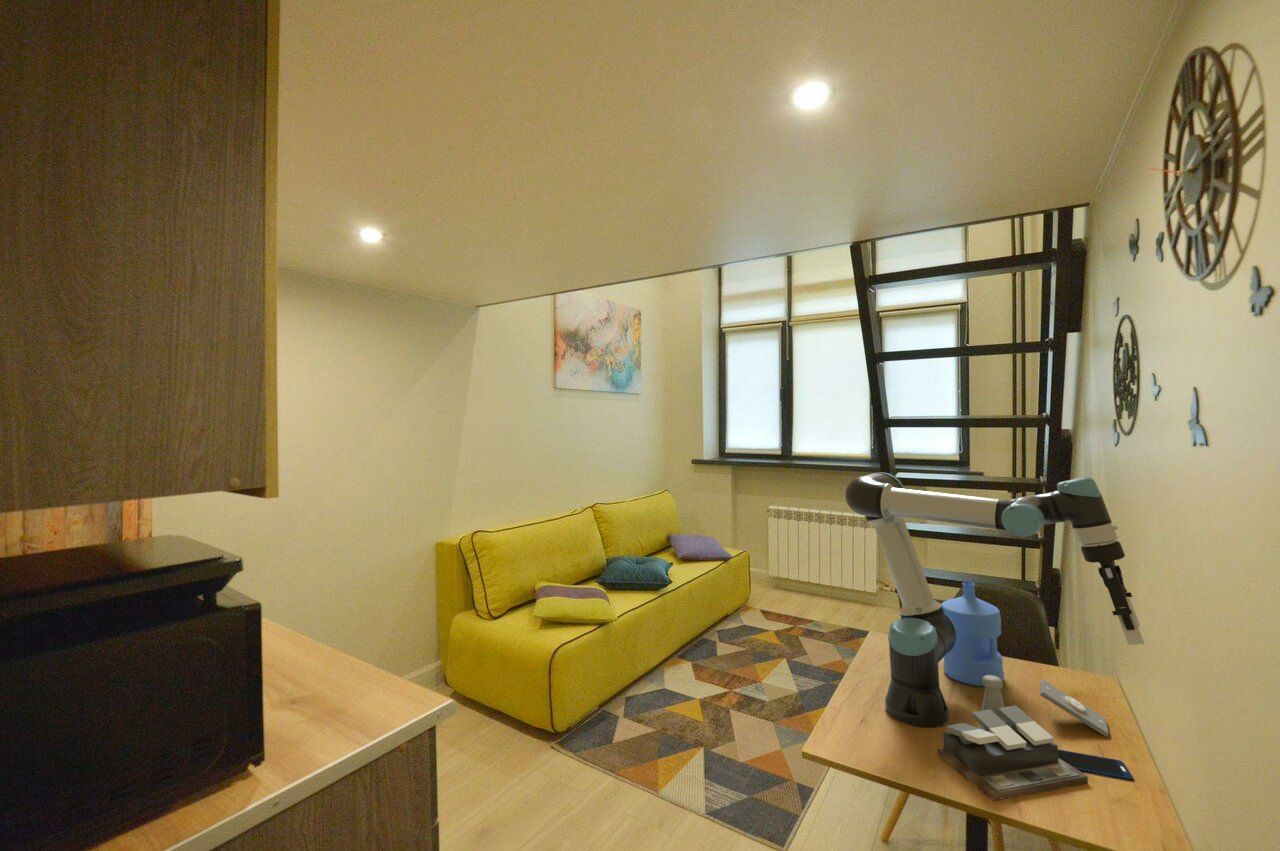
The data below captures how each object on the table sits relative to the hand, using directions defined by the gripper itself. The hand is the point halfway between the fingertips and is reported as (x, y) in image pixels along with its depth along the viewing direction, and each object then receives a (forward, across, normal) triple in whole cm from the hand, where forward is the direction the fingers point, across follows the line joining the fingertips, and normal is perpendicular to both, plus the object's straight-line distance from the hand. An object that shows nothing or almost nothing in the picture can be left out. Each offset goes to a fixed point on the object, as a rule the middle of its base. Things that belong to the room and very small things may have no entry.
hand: (1134, 635), depth 124 cm
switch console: (+21, -23, +29) cm, 42 cm away
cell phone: (+24, -11, +16) cm, 31 cm away
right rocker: (+16, -16, +25) cm, 34 cm away
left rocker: (+14, -27, +34) cm, 45 cm away
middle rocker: (+15, -21, +30) cm, 39 cm away
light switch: (+23, +8, +19) cm, 31 cm away
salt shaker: (+19, -7, +34) cm, 39 cm away
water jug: (+16, +23, +42) cm, 51 cm away
